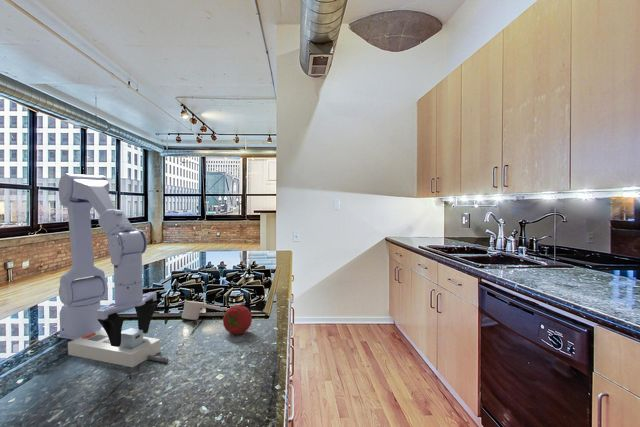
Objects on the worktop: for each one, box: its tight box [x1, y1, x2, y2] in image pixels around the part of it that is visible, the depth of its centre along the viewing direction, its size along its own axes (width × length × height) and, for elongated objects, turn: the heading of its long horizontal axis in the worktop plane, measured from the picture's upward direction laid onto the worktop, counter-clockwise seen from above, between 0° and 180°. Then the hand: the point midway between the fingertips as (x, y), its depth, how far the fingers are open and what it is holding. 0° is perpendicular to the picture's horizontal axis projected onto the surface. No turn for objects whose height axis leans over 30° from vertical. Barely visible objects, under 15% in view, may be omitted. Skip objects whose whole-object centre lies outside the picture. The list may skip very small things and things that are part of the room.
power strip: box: [67, 330, 170, 368], centre depth 78 cm, size 26×8×4 cm, turn 72°
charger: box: [119, 327, 144, 349], centre depth 77 cm, size 4×3×6 cm
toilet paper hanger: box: [181, 300, 229, 320], centre depth 106 cm, size 20×5×16 cm
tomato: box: [222, 304, 253, 336], centre depth 90 cm, size 8×8×8 cm
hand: (130, 338), depth 77 cm, fingers open, 7 cm apart
